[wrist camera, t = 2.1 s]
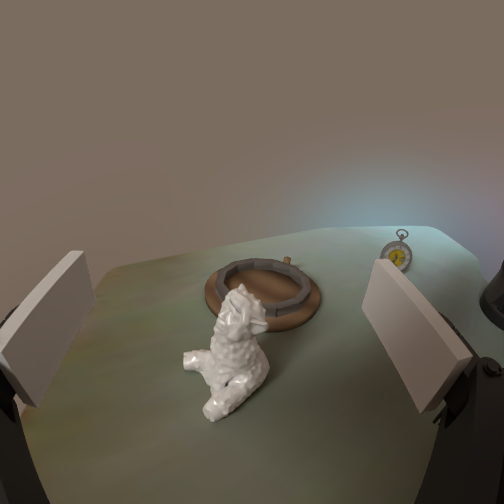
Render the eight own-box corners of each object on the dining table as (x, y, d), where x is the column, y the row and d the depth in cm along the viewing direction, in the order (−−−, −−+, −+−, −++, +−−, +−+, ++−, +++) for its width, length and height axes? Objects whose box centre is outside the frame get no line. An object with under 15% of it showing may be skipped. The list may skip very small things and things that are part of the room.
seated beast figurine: (179, 362, 31) (167, 274, 26) (246, 344, 34) (250, 259, 29) (209, 426, 23) (199, 341, 18) (285, 398, 27) (305, 310, 22)
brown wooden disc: (246, 258, 56) (247, 243, 55) (333, 287, 48) (337, 271, 46) (181, 300, 42) (179, 282, 41) (287, 350, 34) (291, 331, 32)
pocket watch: (393, 297, 45) (409, 245, 41) (365, 274, 52) (377, 226, 48) (420, 289, 48) (435, 242, 43) (393, 269, 55) (405, 225, 50)
